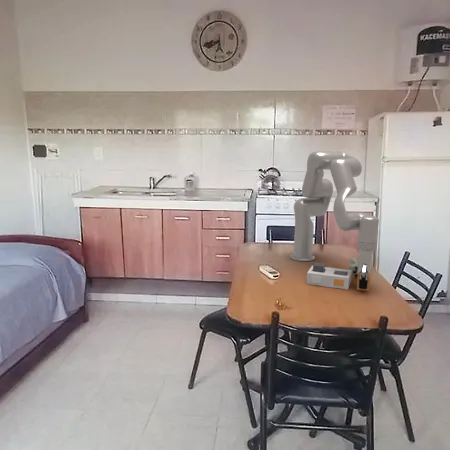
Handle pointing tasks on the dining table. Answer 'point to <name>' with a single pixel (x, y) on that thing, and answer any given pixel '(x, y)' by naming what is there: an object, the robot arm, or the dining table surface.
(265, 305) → the dining table surface
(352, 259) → the valve
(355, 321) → the dining table surface
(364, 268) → the robot arm
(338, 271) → the block
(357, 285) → the lockout cap
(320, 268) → the breaker
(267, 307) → the dining table surface
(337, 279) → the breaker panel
